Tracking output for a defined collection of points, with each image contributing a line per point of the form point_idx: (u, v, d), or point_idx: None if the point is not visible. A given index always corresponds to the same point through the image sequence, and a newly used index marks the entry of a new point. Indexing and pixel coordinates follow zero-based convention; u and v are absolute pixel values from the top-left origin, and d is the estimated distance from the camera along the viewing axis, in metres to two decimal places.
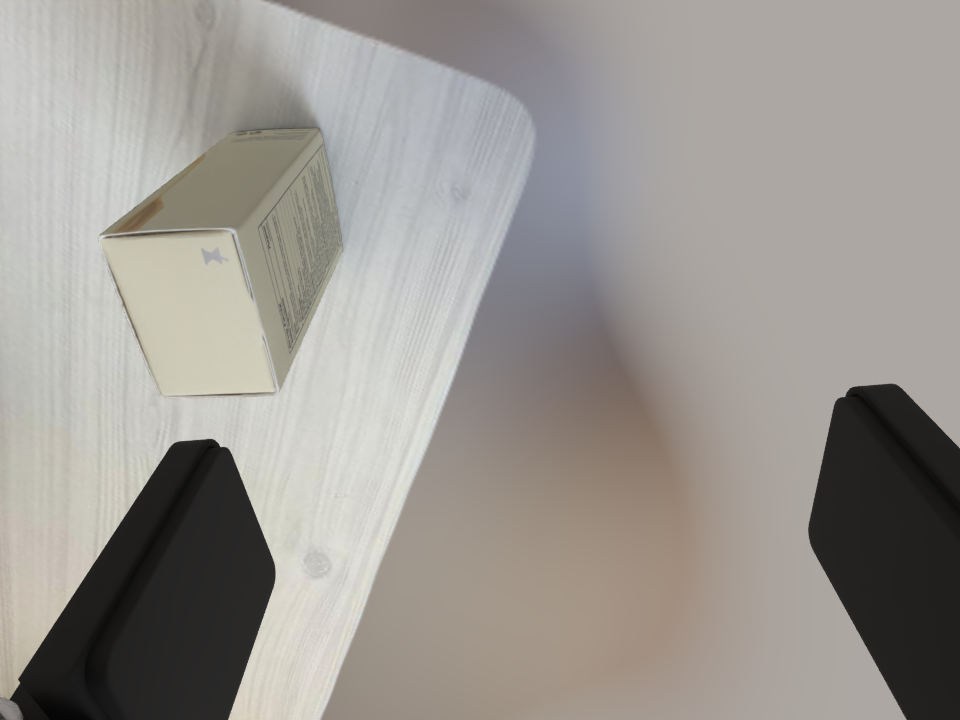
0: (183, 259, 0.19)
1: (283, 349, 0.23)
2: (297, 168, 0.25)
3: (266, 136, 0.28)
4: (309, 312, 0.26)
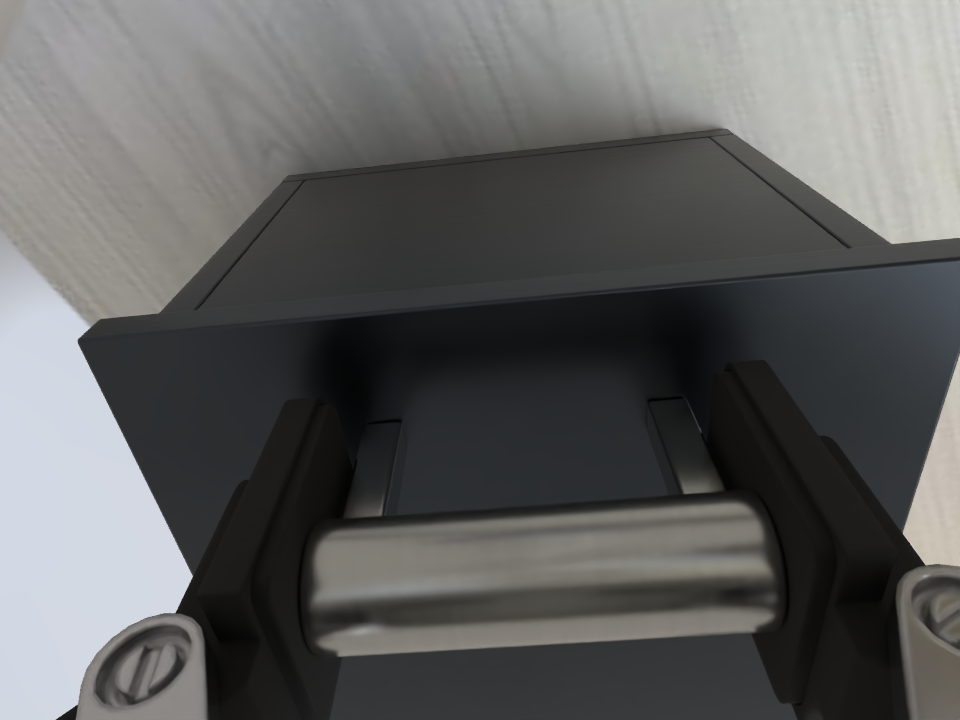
0: None
1: None
2: None
3: None
4: None
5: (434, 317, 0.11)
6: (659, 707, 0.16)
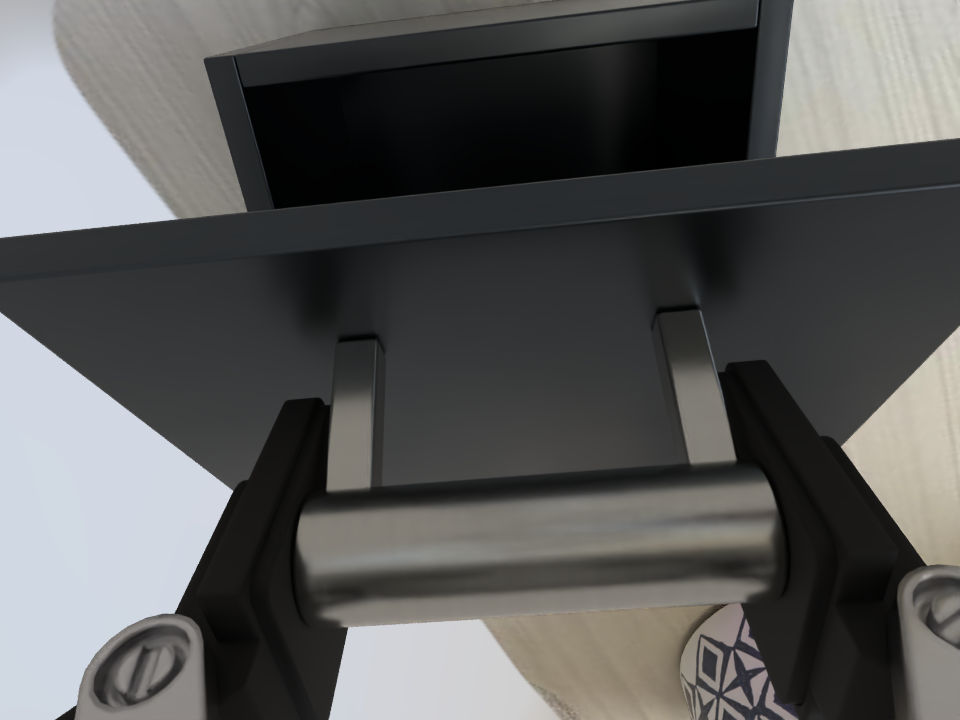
0: None
1: None
2: None
3: None
4: None
5: (407, 249, 0.08)
6: None
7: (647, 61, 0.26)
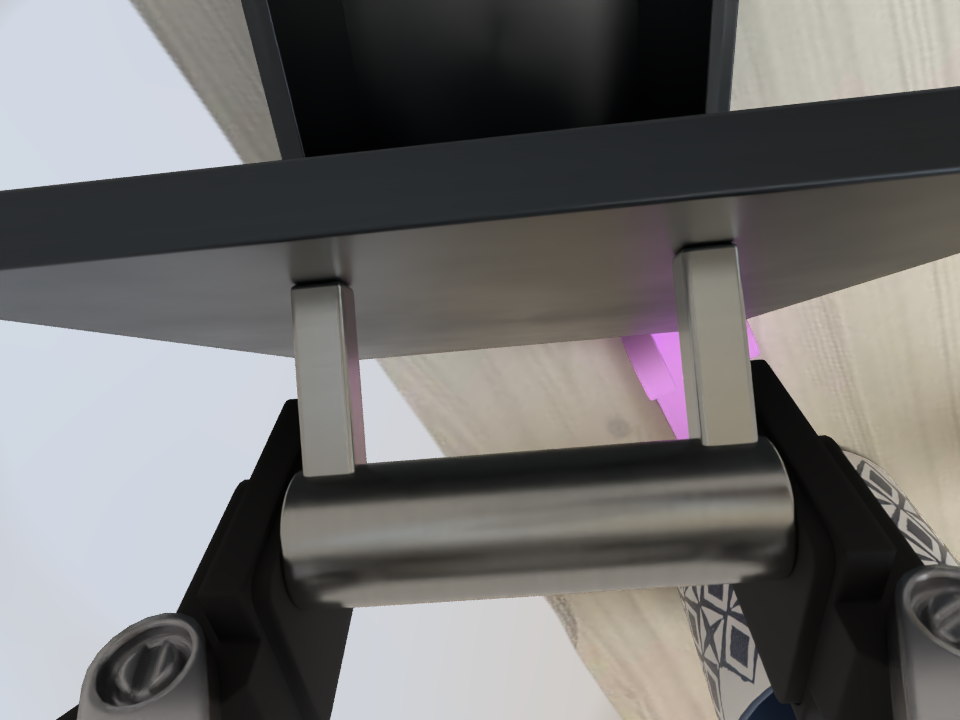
0: None
1: None
2: None
3: None
4: None
5: (371, 237, 0.06)
6: (618, 320, 0.17)
7: None
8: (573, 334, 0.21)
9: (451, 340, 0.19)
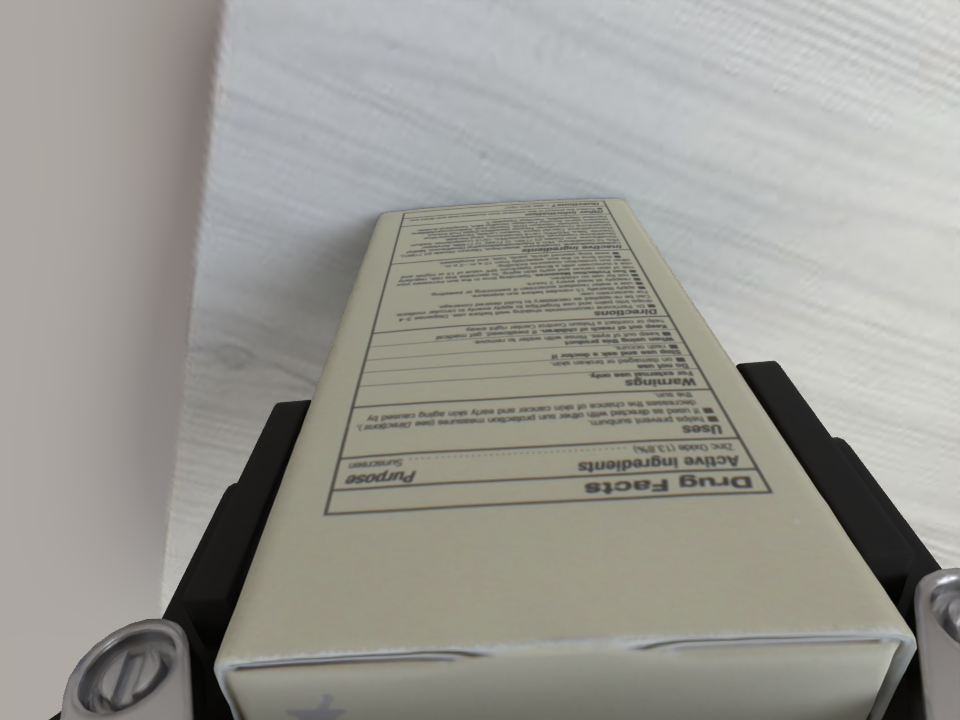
0: None
1: (738, 531, 0.06)
2: (370, 294, 0.12)
3: None
4: (688, 346, 0.10)
5: None
6: None
7: None
8: None
9: None
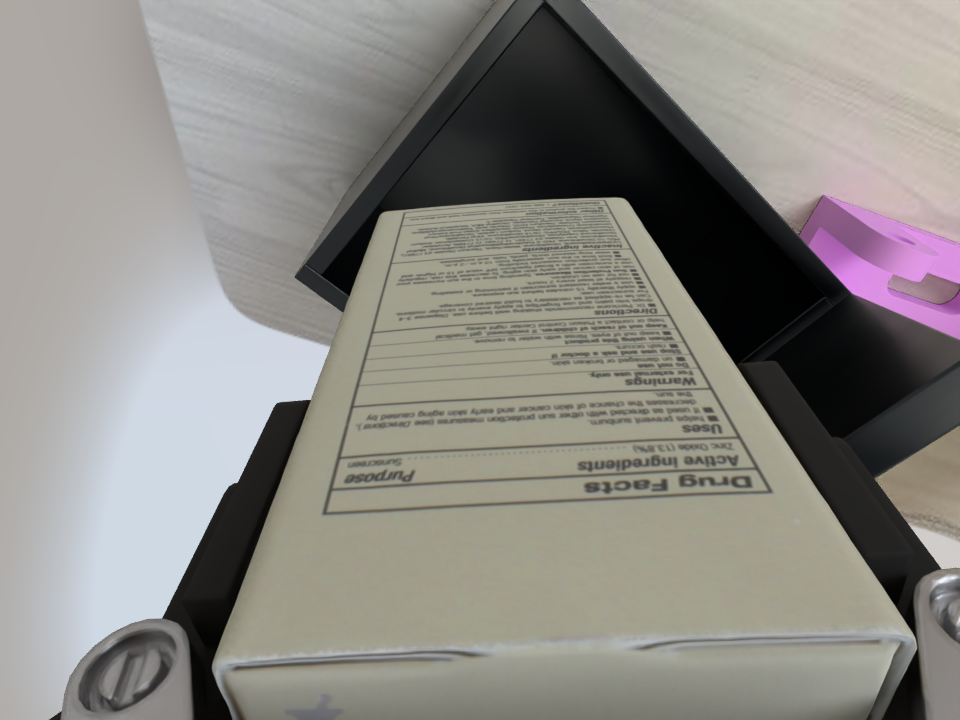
0: None
1: (737, 530, 0.06)
2: (370, 293, 0.12)
3: None
4: (688, 345, 0.10)
5: None
6: None
7: (548, 23, 0.31)
8: None
9: None
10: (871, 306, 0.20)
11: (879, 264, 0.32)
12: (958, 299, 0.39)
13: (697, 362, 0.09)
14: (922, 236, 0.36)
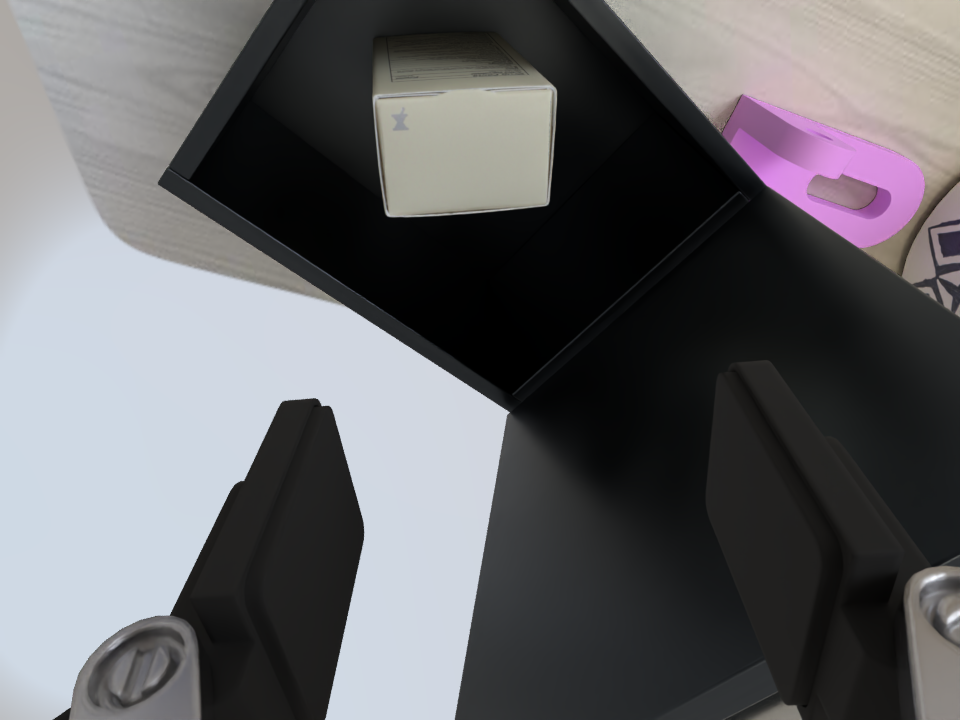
0: (404, 148, 0.22)
1: (516, 78, 0.22)
2: (383, 54, 0.27)
3: None
4: (513, 58, 0.25)
5: None
6: None
7: None
8: None
9: None
10: (830, 235, 0.19)
11: (797, 161, 0.30)
12: (875, 203, 0.39)
13: (515, 60, 0.25)
14: (840, 136, 0.35)
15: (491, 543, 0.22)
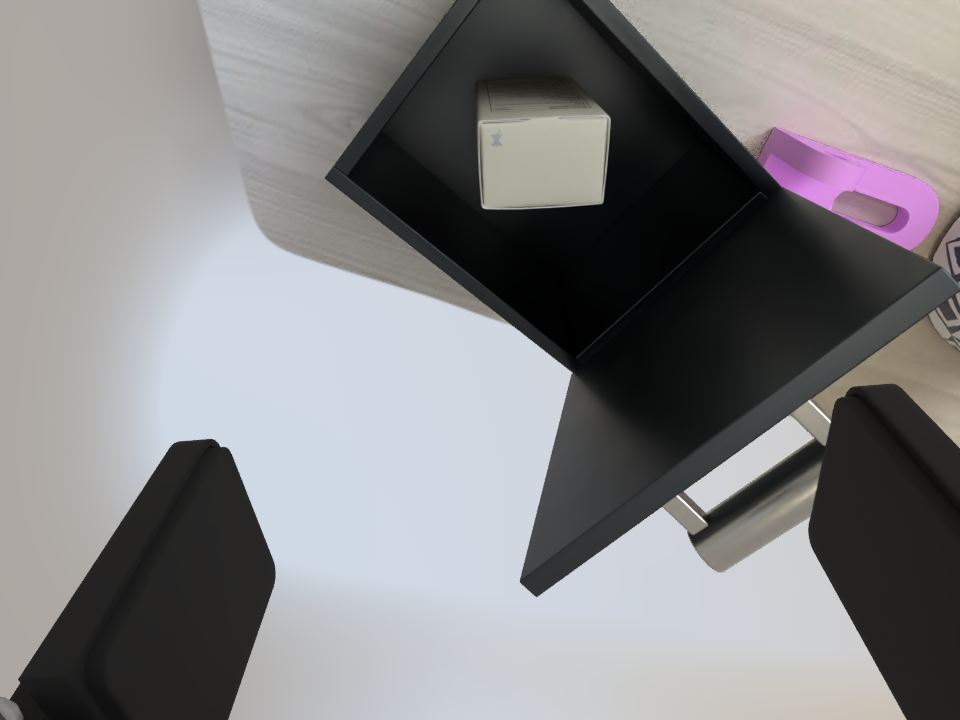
0: (498, 159, 0.31)
1: (581, 110, 0.31)
2: (484, 93, 0.36)
3: None
4: (581, 96, 0.34)
5: None
6: None
7: None
8: None
9: None
10: (815, 207, 0.26)
11: (815, 176, 0.37)
12: (896, 221, 0.45)
13: (582, 98, 0.33)
14: (860, 161, 0.42)
15: (558, 443, 0.29)
